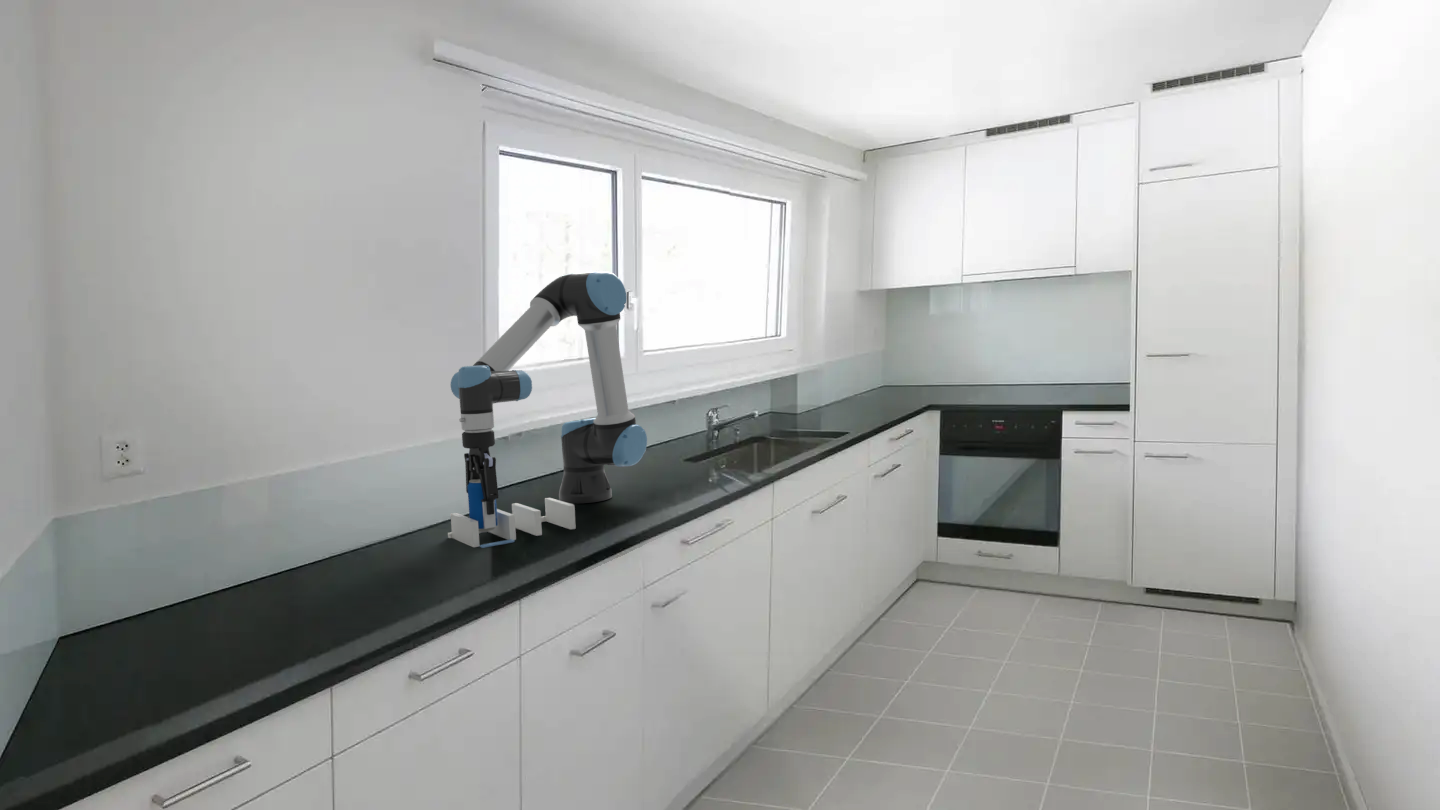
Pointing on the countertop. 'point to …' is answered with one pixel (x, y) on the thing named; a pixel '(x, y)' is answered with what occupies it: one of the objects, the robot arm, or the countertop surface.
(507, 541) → the blue bezel
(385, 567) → the countertop surface
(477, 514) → the beverage can
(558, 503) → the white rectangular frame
